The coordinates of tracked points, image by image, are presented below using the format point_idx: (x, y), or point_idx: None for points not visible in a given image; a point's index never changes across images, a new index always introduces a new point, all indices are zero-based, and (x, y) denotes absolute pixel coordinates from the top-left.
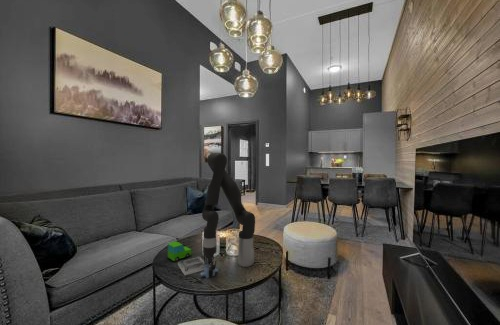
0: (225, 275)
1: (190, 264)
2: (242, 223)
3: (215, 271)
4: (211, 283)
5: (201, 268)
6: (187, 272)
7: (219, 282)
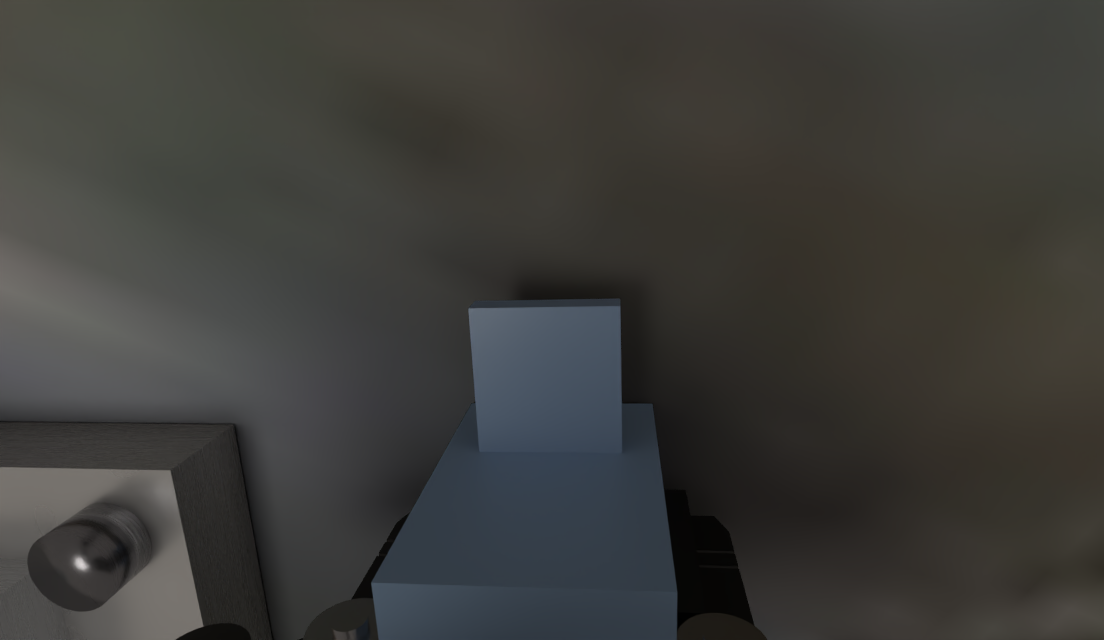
0: (841, 116)
1: None
2: None
3: (620, 405)
4: (964, 618)
5: None
6: None
7: (1072, 438)
